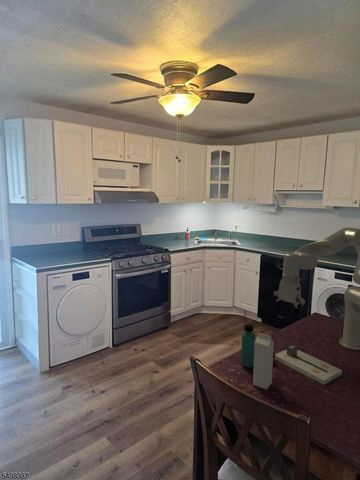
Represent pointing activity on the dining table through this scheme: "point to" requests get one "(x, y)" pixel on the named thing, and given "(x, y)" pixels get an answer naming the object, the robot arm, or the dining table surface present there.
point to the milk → (263, 361)
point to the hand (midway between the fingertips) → (287, 312)
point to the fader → (291, 350)
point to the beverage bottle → (248, 346)
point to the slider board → (309, 366)
